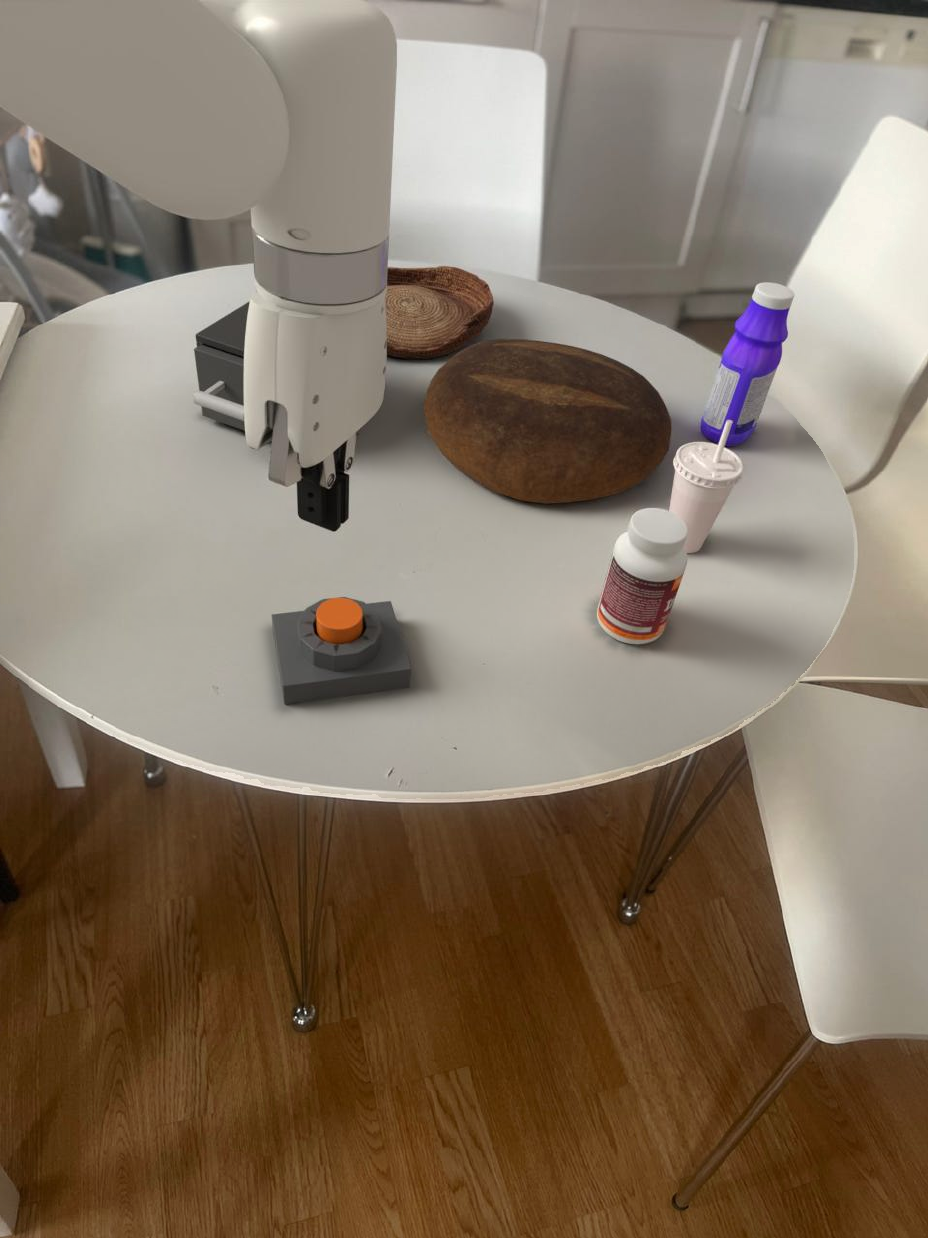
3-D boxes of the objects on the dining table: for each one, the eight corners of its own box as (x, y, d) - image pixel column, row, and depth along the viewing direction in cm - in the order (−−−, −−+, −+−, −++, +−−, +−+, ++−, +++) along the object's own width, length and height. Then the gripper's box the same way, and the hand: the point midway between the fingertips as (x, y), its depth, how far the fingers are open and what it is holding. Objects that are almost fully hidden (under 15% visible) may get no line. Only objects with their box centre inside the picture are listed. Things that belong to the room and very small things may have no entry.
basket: (347, 372, 106) (347, 334, 103) (300, 299, 119) (298, 263, 116) (514, 351, 114) (519, 314, 111) (453, 285, 127) (456, 250, 123)
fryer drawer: (269, 467, 90) (264, 399, 84) (177, 433, 92) (166, 365, 87) (357, 392, 102) (358, 328, 96) (273, 364, 104) (269, 300, 99)
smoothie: (697, 571, 85) (741, 447, 76) (639, 542, 88) (675, 418, 78) (725, 540, 89) (771, 419, 79) (669, 513, 92) (707, 392, 82)
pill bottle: (668, 650, 77) (703, 553, 69) (597, 643, 77) (625, 545, 69) (659, 602, 82) (691, 505, 74) (593, 595, 81) (618, 498, 74)
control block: (284, 705, 69) (281, 670, 66) (273, 633, 74) (270, 598, 72) (409, 687, 71) (412, 653, 69) (390, 619, 77) (391, 584, 74)
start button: (320, 647, 69) (319, 631, 67) (313, 616, 71) (313, 600, 70) (366, 642, 70) (366, 626, 68) (358, 610, 72) (358, 595, 71)
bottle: (718, 413, 107) (765, 271, 95) (760, 432, 105) (814, 289, 93) (689, 435, 103) (734, 289, 91) (732, 455, 101) (784, 309, 89)
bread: (653, 537, 88) (676, 464, 82) (391, 480, 91) (394, 406, 85) (671, 399, 109) (690, 332, 103) (457, 356, 112) (463, 288, 106)
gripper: (333, 208, 56) (332, 453, 69) (181, 287, 46) (214, 559, 58) (439, 238, 54) (418, 485, 67) (306, 328, 44) (311, 599, 57)
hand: (323, 519), depth 63 cm, fingers closed
